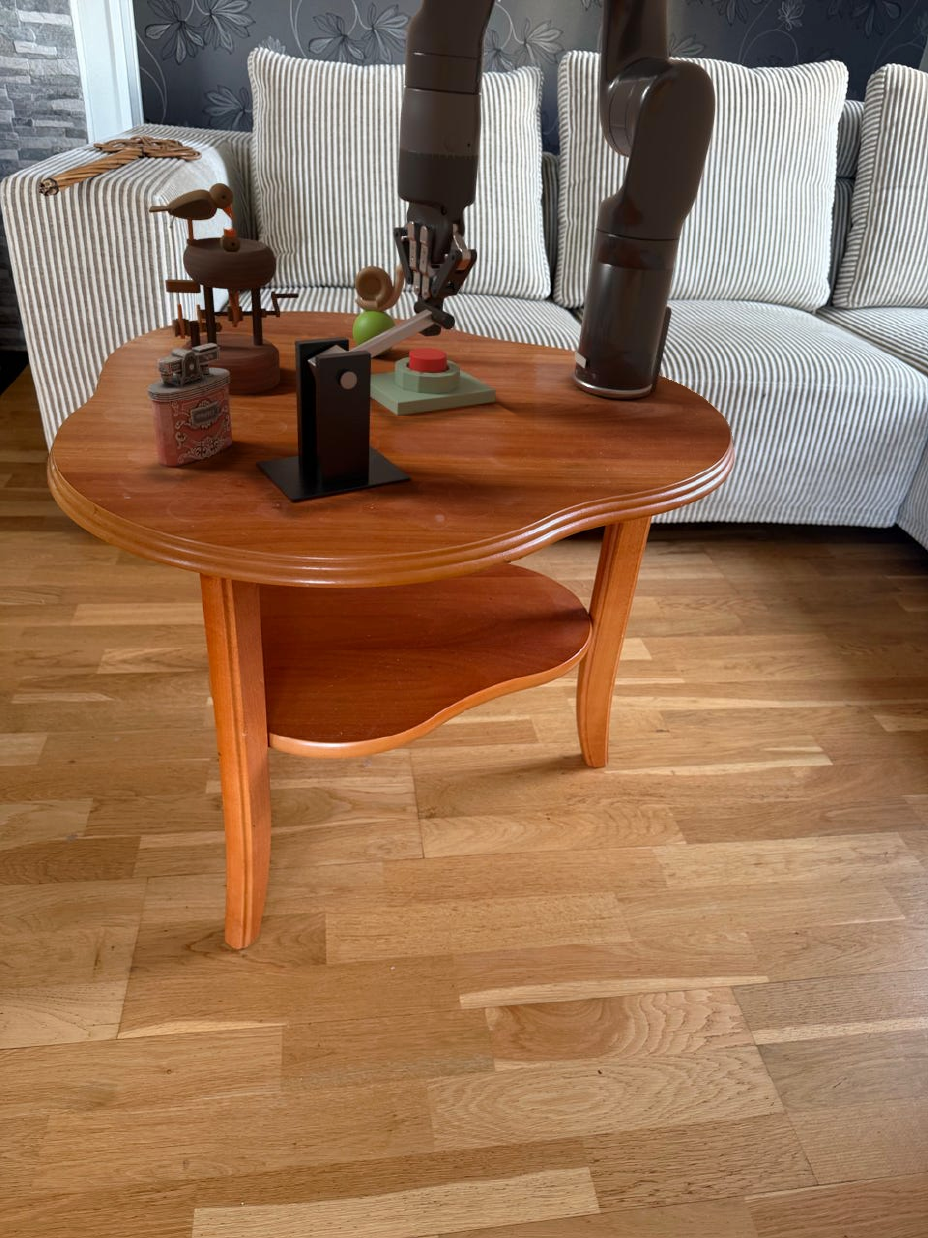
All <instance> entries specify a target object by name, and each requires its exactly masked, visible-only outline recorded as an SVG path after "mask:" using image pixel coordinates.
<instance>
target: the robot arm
mask: <svg viewBox="0 0 928 1238" xmlns="http://www.w3.org/2000/svg"><path fill="white" fill-rule="evenodd" d="M496 1H497V0H422V3H421V6H420V8H418V10H417V11H416V12H415V13H414V14H413V15H412V16H411V19H410V20H409V22H408V26H407V31H406V39H405V40H406V41H405V60H404V61H405V65H404V66H405V67H404V86H405V87H403V88H404V89H403V98H402V103H401V110H400V122H399V144H398V145H399V146H398V170H397V171H398V172H397V195H398V198H400V200H402V201H404V202H407V203H408V207H407V211H406V216H405V217H406V223H405V224H404V225H403V226H401V227H400V226H398V227H397V226H395V227H394V229H393V238H394V242H395V246H396V249H397V250H396V251H397V254H398V257H399V261H400V264H401V265H402V268H403V272H404V276H405V283H406V285H408V286H409V285H411V286H412V287H413V293H414V295H416V296H417V300H416V302H417V301H418V300H422V301H424V302H426V303H428V304H430V305H432V306H434V307H436V308H438V309H440V310H443V311H444V301H445V299H447V297H448V298H449V297H455V296H457V295H458V294H459V291H460V290H461V288H462V287H463V285H464V283H465V281H466V280H467V278H468V276H469V274H470V272H471V271H472V269H473V268H474V266H475V264H476V262H477V261H478V251H477V249H475V248H468V246H467V245H466V242H465V240H464V236H465V232H466V225H465V218H464V211H465V209H466V208H467V207H471V206H472V205H473V204H474V203H475V201H476V195H477V186H478V185H477V184H478V174H479V173H478V171H479V160H480V146H481V134H482V95H481V93H482V91H483V89H482V88H483V77H484V68H485V67H484V66H485V50H486V49H485V45H486V36H487V34H488V33H487V32H488V29H489V26H490V22H491V19H492V16H493V13H494V9H495V5H496ZM601 2H602V3H601V10H602V11H601V12H602V13H601V39H600V40H601V42H600V65H599V85H598V87H599V88H598V89H599V90H598V114H599V123H600V128H601V131H602V134H603V137H604V139H605V141H606V143H607V145H608V146H609V147H610V148H611V150H612V151H614V152H615V153H616V154H618V155H620V156H621V157H624V158H627V159H628V160H627V165H626V170H625V174H624V179H623V182H622V184H621V186H620V188H619V189H618V190H617V191H616V192H615V193H614V194H612V195H611V196H608V197H606V198H604V199H602V201H601V202H600V204H599V207H598V211H597V216H596V217H597V218H596V225H595V227H596V228H595V230H594V237H593V243H592V251H591V257H590V264H589V272H588V273H589V274H588V278H587V285H586V293H585V299H584V306H583V312H582V321H581V325H580V332H579V339H578V347H577V350H575V352H574V358H573V360H574V362H575V367H574V370H573V373H572V374H573V375H572V384H573V385H574V386H575V387H576V388H577V389H579V390H581V391H583V392H585V393H588V394H591V395H594V396H597V397H598V396H599V397H603V398H609V399H621V400H630V399H632V400H633V399H640V398H644V397H647V396H648V395H649V394H651V392H652V391H656V390H657V387H658V382H659V377H660V373H661V367H662V363H663V358H664V352H665V349H666V342H667V337H668V333H669V328H670V324H671V323H670V322H671V317H672V313H673V311H672V308H671V307H670V306H668V302H669V296H670V292H671V286H672V280H673V276H674V271H675V265H676V259H677V256H678V255H677V254H678V250H679V244H680V240H681V235H682V231H683V226H684V223H685V221H686V219H687V218H688V216H689V215H690V213H691V211H692V210H693V207H694V204H695V202H696V200H697V196H698V192H699V189H700V184H701V181H702V177H703V176H702V175H703V172H704V168H705V165H706V160H707V156H708V152H709V148H710V144H711V139H712V135H713V130H714V124H715V117H716V92H715V87H714V83H713V81H712V78H711V76H710V75H709V73H708V72H707V70H706V69H705V68H704V67H702V66H701V65H699V64H698V63H696V62H693V61H691V60H690V61H689V60H683V59H676V58H675V59H674V58H670V53H669V52H670V51H669V0H601ZM441 332H442V327H441V326H439V325H437V324H433V325H431V326H429V327H428V328H426V329H424V330H422V331H420V332H418V333H419V334H420V335H422V336H424V337H425V338H426V337H437V336H440V334H441ZM418 333H417V334H418Z"/></svg>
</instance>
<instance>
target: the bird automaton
mask: <svg viewBox="0 0 928 1238" xmlns="http://www.w3.org/2000/svg"><path fill="white" fill-rule="evenodd" d="M233 201H234V193H233V191H232V189H231V188H230V186H228V185H227V184H225V183H222V182H218V183H214V184H212V186H211V187H210V188H209V190H207V189H202V188H200V189H194V190H191V191H188V192H185V193H183V194H181V195H179V196H177V197H176V198H174V199H172V200H171V201H170V202H169V203H168V204H167V205H151V206H150V207H149V208H148V213H151V214H152V213H161V212H167V213H168V214H169V216H172V219H171V224H170V225H169V229H170V231H171V241H172V251H173V260H174V272H175V279H173V278H171V279H165V281H164V283H165V291H166V293H170V294H177V302H178V304H177V308H176V309H177V318H174V319H172V330H173V336H174V337H175V338H178V337H180V339H182V340H183V339H185V338H186V337H188V338H189V337H190V339H188V341H186V342H185V344H183V346H182V347H181V349H184V350H187V351H190V350H192V348H194V347H198V346H201V345H205V344H209V343H213V344H216V345H217V347H219V350H220V360H217V361H214V362H210V363H207V364H208V365H209V368H222V369H225V370H228V371H229V372H230V382H229V383H228V389H229V395H248V394H254V393H255V394H256V393H260V392H265V391H267V390H268V391H269V390H271V389H273V388H275V387H276V386H277V385H278V384H279V383H280V381H281V369H280V368H281V367H280V366H281V365H280V362H281V361H280V350H279V348H278V347H277V346H275V344H273V343H272V341H269V340H268V339H265V338H264V335H263V321H262V320H263V319H267V317H268V316H275V317H276V318H281V309H280V305H279V301H278V299H298V298H299V297H300V295H299V293H295V292H294V293H290V292H289V293H286V292H285V293H276V291H274V290H271V291H270V299H271V303H272V306H273V310H267V309H266V307H265V308H264V307H262V296H261V295H262V294H261V288H262V287H264V286H266V285H268V284H269V283H270V282H271V281H272V280H273V278H274V277H275V274H276V271H277V259H276V256H275V253H274V252H273V250H272V248H271V247H270V246H269V245H268V244H267V243H265V242H262V241H258V240H255V239H251V238H250V239H249V238H244V237H243V238H242V237H238V236H237V233H236V229H235V228H233V227H231V228H229V229H227V228H224V227H223V228H222V229H223V232H222V233H223V234H222V235H221V236H215V237H214V236H212V237H203V238H202V237H201V238H195V236H194V235H195V234H194V225H193V224H194V223H193V221H209V220H211V219H212V218H214V217H215V215H216V214H217V212H218V209H219V210H222V211H223V212H224V213H225V214H226V216H228V218H229V219H230V220H231V221H232V222H233V223H235V221H236V220H235V217H234V216H235V215H234V212H233V208H232V204H233ZM175 218H177V219H181V220H186V221H187V232H188V238H186V239H185V240H186V247H185V248H184V251H183V254H182V255H183V256H182V263H183V267H184V270H185V272H186V274H187V275H188V277H189V278H190V279H178V270H177V262H176V252H175V251H176V249H175V242H174V241H175V240H174V231H173V229H174V225H173V224H174V220H175ZM201 286H202V287H201ZM214 289H219V290H226V292H227V294H228V305H227V306H226V311H225V310H224V311H223V310H222V311H216V310H215V298H214ZM202 290H203V291H202ZM240 290H250V298H251V310H243V307H242V305H240ZM202 292H203V305H204V309H203V308H201V305H200V304H196V308H195V309H196V318H197V320H190V319H188V318H187V319H186V318H184V314H183V308H182V304H181V303H180V294H201V293H202ZM216 317H226V319H227V321H228V322H231V326H232V328H238V324H239V323H240V322H243V321H244V317H251V318H252V335H251V334H245V333H244V334H243V333H225V332H224V333H221V332H222V330H223V325H222V324H221V322H216ZM203 320H205V322H203ZM204 333H206V334H204ZM201 334H204V335H201Z"/></svg>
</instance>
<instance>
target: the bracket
mask: <svg viewBox="0 0 928 1238" xmlns="http://www.w3.org/2000/svg"><path fill="white" fill-rule="evenodd" d="M335 345H338V346H339V347H341V348H342V349H344V350H345V351H347V352H343V353H333V354H323V355H318V354H320V353H322V352H324V351H326V350H328V349H330V348H332V347H333V346H335ZM348 351H350V339H349V338H347V337H346V336H334V337H321V338H311V339H301V340H300V339H299V340H294V352H295V353H294V356H295V357H294V359H295V360H294V361H295V362H294V363H295V393H296V397H295V398H296V424H297V425H296V427H297V429H296V431H297V455H295V456H288V457H282V458H276V459H270V460H262V461H257V462H256V463H255V466H256V467H257V468H258V469H259V470H260V472H262V474H263V475H264V476H265V477H266V478H267V479H268V480H269V481H270V482H271V483H272V484H273V485H274V486H275V487H276V488H277V489H278V490H279V491H280V492H281V493H282V494H283V495H284V496H285V497H286V499H288V500H289V501H290V503H292V504H293V503H299V502H304V501H309V500H315V499H320V498H325V497H326V498H327V497H332V496H338V495H341V494H348V493H353V492H359V491H363V490H364V491H365V490H369V489H374V488H382V487H386V486H391V485H397V484H402V483H407V482H411V481H412V478H411V476H409V475H408V474H407V473H406V472H404V471H403V470H402V469H400V468H399V467H398V466H397V465H395V464H394V463H393V462H392V461H390V459H388V458H387V457H386V456H385V455H383V454H382V453H380V451H378V450H377V449H375V448H374V447H373V446H372V445H371V444H370V442H371V441H370V439H371V435H370V434H371V396H370V392H371V374H372V358H371V353H369V352H368V351H366V350H363V351H353V352H348ZM313 357H315V364H316V380H315V377H314V375H313V372H312V370H311V368H310V365H309V363H308V360H309V359H311V358H313Z"/></svg>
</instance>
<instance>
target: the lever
mask: <svg viewBox="0 0 928 1238" xmlns="http://www.w3.org/2000/svg"><path fill="white" fill-rule="evenodd" d="M417 300H418V299H417ZM417 300H416V301H415V302H414V304H413V312H414V313H415V315H412V316H411V317H409V318H408V319H406V320H404V321H402V322H400V323H398V324H395V325H396V326H394V327H393V328H391V329H389V330H387V331H385V332H383V333H381V334H380V335H378V336H376V337H374V338H372V339H370V340H368V341H366V342H365V343H363V344H361V345H359V346H357V345H356V346H355V347H354V348H353V347H352V348H351V349H349V351H348V352H353V351H363V350H366V351H368V352H369V353H371V359H372V358H374V357H376V355H378V354H380V353H382V352H383V351H385V350H387V349H389V348H391V347H392V348H393V347H394V346H397V345H398V344H400V343H402V342H404V341H405V340H407V339H410V338H411V337H413V336H415V335H416V334H418V332H420V331H422V330H424V329H426V328H428V327H429V326H431V325H433V324H437V325H439V326H441V328H442V329H445V330H447V331H449V330H451V329H453V328H454V327H455V325H456V318H455V316H454V315H452V314H450V313H448V312H446V311H445V310H444V309H443V310H440V309H438V308H436V307H434V306H432V305H430V304H428V303H426V302H424V301H422V300H418V301H417ZM392 348H391V349H392ZM343 352H347V351H345V350H344V349H342V348H341V347H339V346H338V345H335V346H333V347H332V348H330V349H328V350H326V351H324V352H322V353H320V354H318V355H323V354H333V353H343ZM378 356H379V355H378ZM308 363H309V365H310V368H311V370H312V372H313V375H314V377H315V380H316V364H315V357H313V358H311V359H309V360H308Z"/></svg>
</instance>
